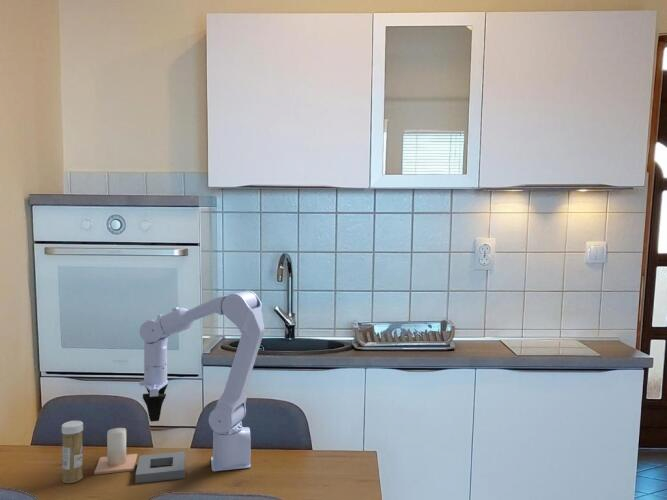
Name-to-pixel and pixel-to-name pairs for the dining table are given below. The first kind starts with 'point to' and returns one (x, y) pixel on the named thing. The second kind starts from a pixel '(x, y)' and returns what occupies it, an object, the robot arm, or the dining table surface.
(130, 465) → the tile
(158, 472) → the grey square frame
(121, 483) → the dining table surface
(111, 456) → the plug
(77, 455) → the sprinkles bottle
